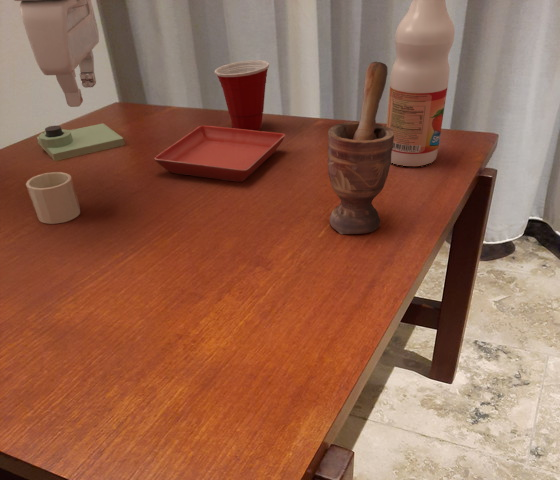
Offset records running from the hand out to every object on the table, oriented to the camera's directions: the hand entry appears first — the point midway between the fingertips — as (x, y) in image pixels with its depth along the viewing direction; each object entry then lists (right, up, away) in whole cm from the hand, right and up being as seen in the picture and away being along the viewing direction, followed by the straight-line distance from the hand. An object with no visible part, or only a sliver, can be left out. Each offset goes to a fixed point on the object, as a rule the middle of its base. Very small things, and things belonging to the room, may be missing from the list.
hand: (83, 95), depth 77 cm
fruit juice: (+51, 0, +23) cm, 56 cm away
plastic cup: (+20, +12, +38) cm, 45 cm away
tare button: (-16, +8, +31) cm, 36 cm away
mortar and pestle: (+39, -16, +6) cm, 42 cm away
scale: (-13, +7, +35) cm, 38 cm away
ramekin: (-7, -14, +10) cm, 19 cm away
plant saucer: (+17, -1, +24) cm, 30 cm away
